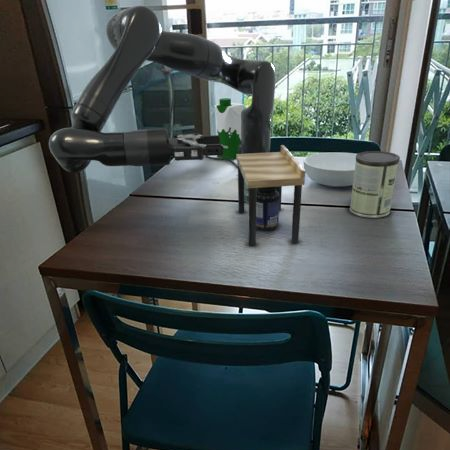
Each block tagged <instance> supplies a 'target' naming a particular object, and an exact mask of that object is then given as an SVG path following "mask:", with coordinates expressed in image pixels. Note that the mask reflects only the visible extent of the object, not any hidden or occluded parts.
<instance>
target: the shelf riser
mask: <svg viewBox="0 0 450 450" xmlns="http://www.w3.org/2000/svg"><path fill="white" fill-rule="evenodd" d="M235 160H236V164H237V163H238V165H237V166H238V168H237V194H238V195H237V199H238V200H237V203H238V205H237V206H238V213H239V214H244V213H245V212H246V211H245V210H246V209H245V208H246V207H245V201H244V180H245V182H246V185H247V187H248V188H249V203H248V246H249V247H256V245H257V228H256V188H261V187H277V188H276V191H278V193H279V212H280V211H281V210H282V194H283V193H282V192H283V191H282V190H283V187H293V186H294V188H293V206H292V220H291V221H292V223H291V239H290V243H291V244H295V245H296V244H299V241H300V240H299V237H300V224H301V223H300V222H301V207H302V194H303V193H302V192H303V186H305V181H306V180H305V179H306V172H305V169H304V166H303V165H301V163H299V161H298V160H297V159H296V158H295V156H294V155H293V154H292V153H291V152H290V151H289V149H288V148H287V146H285V145H284V144H281V145H280V151H272V152H271V151H270V153H251V154H236V158H235Z"/></svg>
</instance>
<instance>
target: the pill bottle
mask: <svg viewBox="0 0 450 450" xmlns="http://www.w3.org/2000/svg"><path fill="white" fill-rule="evenodd" d="M276 188H277V187H261V188H257V189H258V191H256V230H257V229H258V230H261V231H271V230H275V229H277V228H278V227H279V224H280V211H279V193H278V191H276Z"/></svg>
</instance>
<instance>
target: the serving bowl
mask: <svg viewBox="0 0 450 450" xmlns="http://www.w3.org/2000/svg"><path fill="white" fill-rule="evenodd" d="M357 154H358V153H354V152H342V151H341V152H338V151H335V152H334V151H333V152H319V153H314V154H311V155H308V156H306V157H305V158H304V159H303V168H304V170H305V175H306V176H307V178H309V179H310V180H311V181H313V182H314V183H317V184H320V185H323V186H326V187H330V188H331V187H332V188H344V187H349V186H353V180H354V172H355V163H356V155H357Z"/></svg>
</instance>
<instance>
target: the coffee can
mask: <svg viewBox="0 0 450 450" xmlns="http://www.w3.org/2000/svg"><path fill="white" fill-rule="evenodd" d="M356 154H357V155H356V163H355V172H354V180H353V185H352V189H351V198H350V206H349V212H350V213H351V214H353V215H356V216H358V217H362V218H368V219H369V218H370V219H372V218H373V219H376V218H378V219H379V218H383V217H387V216H389V214H390V213H391V207H392V201H393V196H394V189H395V184H396V178H397V173H398V167H399V162H400V159H401V157H400V155H399V154H396V153H394V152H389V151H384V150H383V151H382V150H367V151H362V152H358V153H356Z"/></svg>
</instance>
